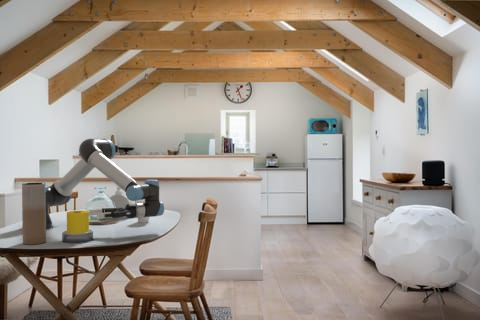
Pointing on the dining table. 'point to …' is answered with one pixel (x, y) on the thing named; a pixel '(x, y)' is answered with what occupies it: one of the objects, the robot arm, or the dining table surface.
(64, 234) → the grey metal disc
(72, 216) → the tape roll
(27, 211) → the vase
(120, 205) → the soap bottle
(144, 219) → the foam cup
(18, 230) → the dining table surface
